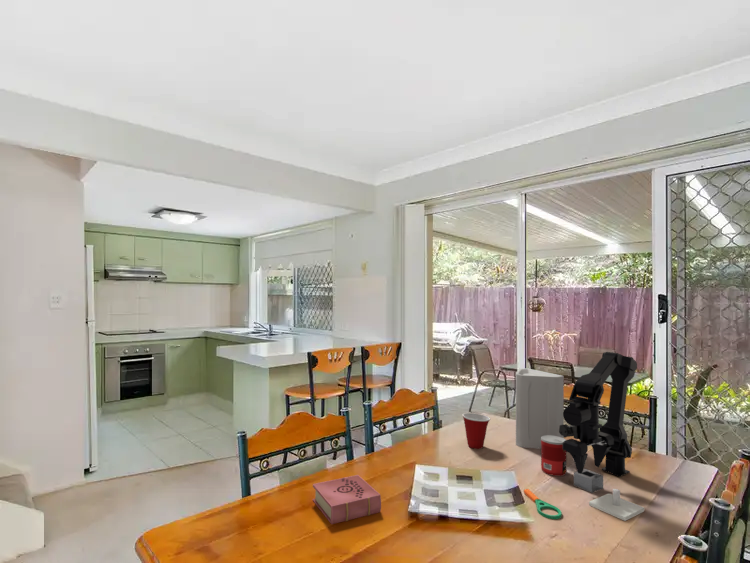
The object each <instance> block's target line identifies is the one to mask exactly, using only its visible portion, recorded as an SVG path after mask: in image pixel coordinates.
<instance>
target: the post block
mask: <svg viewBox="0 0 750 563" xmlns="http://www.w3.org/2000/svg"><path fill="white" fill-rule="evenodd" d="M588 503H589V504H588V505H589V506H590V507H592V508H594V509H597V510H600V511H602V512H604V513H606V514H608V515H611V516H613V517H615V518H617V519H619V520H622V521H624V522H626V521H627V520H630V519H632V518H634V517H636V516H638V515H640V514H642V513H643V512H645V507H644V506H642V505H639V504H638V503H637V504H636V503H634V502H631V501H630V500H626V499H625V498H622V497H621V490H620V489H618V488H612V493H606V494H603V495H602V496H599V497H597V498H594V499H592V500H590V501H589V502H588Z"/></svg>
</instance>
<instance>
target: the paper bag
mask: <svg viewBox="0 0 750 563" xmlns="http://www.w3.org/2000/svg"><path fill="white" fill-rule="evenodd" d="M564 378H565V377H564V375H561V374H558V373H557V374H556V373H552V372H547V371H542V370H536V369H533V368H532V369H531V368H528V367H527V368H519V369H518V370H517V371H516V373H515V446H517V447H519V448H527V449H538V450H539V449H540V450H541V437H542V436H546V435H552V436H558V437H562V438H564V437H563V435H561V434H560V433H559V426H560V425H565V424H564V423H565V419H564V417H563V412H564V410H565V408H564V403H565V402H564V386H565V384H564V383H565V381H564ZM564 439H565V438H564Z"/></svg>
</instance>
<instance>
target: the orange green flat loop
mask: <svg viewBox="0 0 750 563" xmlns="http://www.w3.org/2000/svg"><path fill="white" fill-rule="evenodd" d="M523 493H524V494H525V495H526V496H527V497H528V498H529V499H530V500H531V501H532V502H533V503H535V506H536V511H537V513H538V514H539V515H540V516H542V517H544V518H547V519H549V520H550V519H552V520H559V519H561V518H562V510H561V509H560V508H559V507H557V506H555V505H553V504H552V503H548V502H547V501H544V500H542V499H540V498H539V497H538V496H537V495H536V494H535V493H533V491H531V490H530V489H529V488H526V489H524V490H523ZM544 509H546V510H552V511H554V512H556V513H557V514H555V515H553V514H547V513H544V512H543V511H542V510H544Z"/></svg>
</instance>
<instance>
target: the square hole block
mask: <svg viewBox="0 0 750 563" xmlns="http://www.w3.org/2000/svg"><path fill="white" fill-rule="evenodd" d="M573 486H574V487H577V488H579V489H582V490H584V491H587V492H588V493H591V494H593V493H596V492H598V491H601V490H602V489H604V475H603V474H600V473H598V472H595V471H593V470H589V469H587V468H584V469H583V472H582V474H580V473H578V471H577V470H576V471H575V472H573Z"/></svg>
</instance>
